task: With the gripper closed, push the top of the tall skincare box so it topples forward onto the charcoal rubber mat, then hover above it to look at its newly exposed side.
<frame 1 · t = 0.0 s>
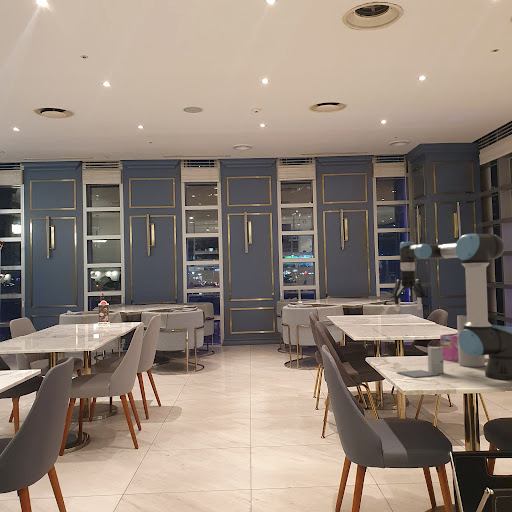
hand: (409, 310, 277), 28 cm above the table, fingers open, 13 cm apart
gum box: (459, 359, 288), on the table
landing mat: (417, 374, 243), on the table
skincare box: (436, 373, 247), on the table
cylinder vase: (471, 365, 266), on the table
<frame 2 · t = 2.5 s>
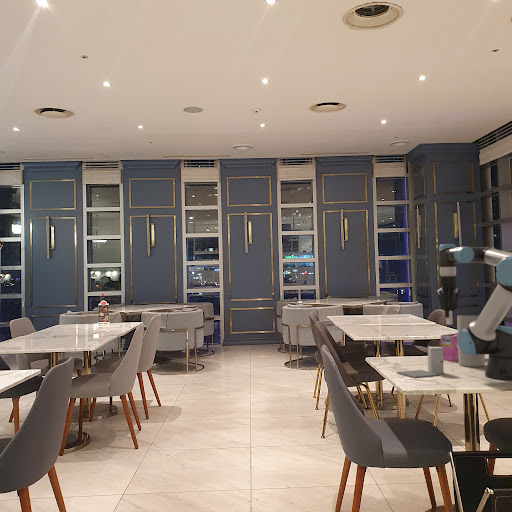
hand: (449, 324, 251), 23 cm above the table, fingers closed
nothing on the table moved.
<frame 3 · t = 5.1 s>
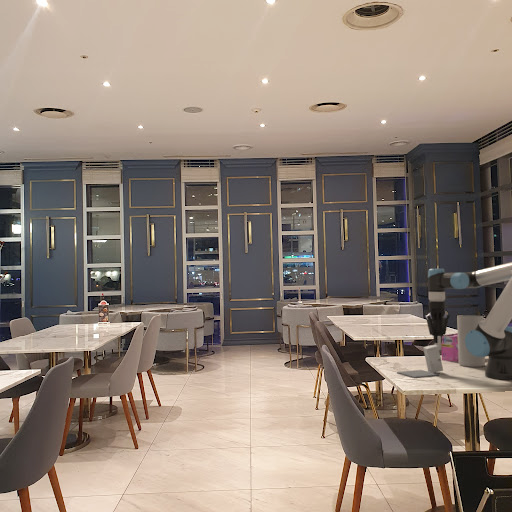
hand: (438, 349, 249), 11 cm above the table, fingers closed
skincare box: (435, 371, 247), point 1 cm above the table, touching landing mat
everything else where it was.
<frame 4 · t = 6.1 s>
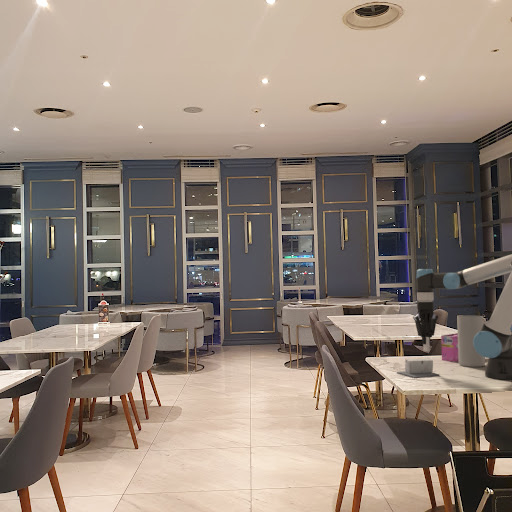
hand: (426, 350, 246), 11 cm above the table, fingers closed
skincare box: (431, 364, 247), point 4 cm above the table, touching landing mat
everything else where it was.
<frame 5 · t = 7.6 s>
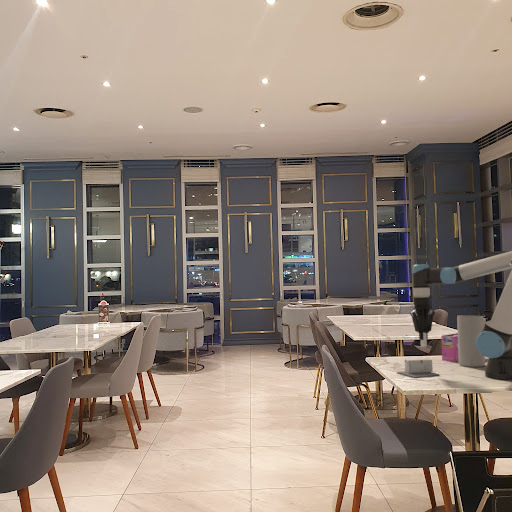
hand: (423, 346, 245), 13 cm above the table, fingers closed
nothing on the table moved.
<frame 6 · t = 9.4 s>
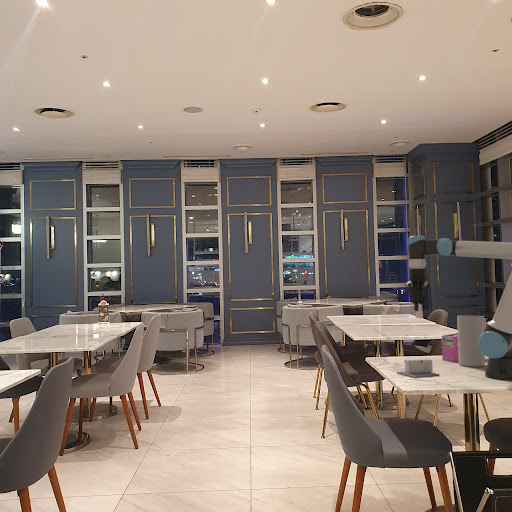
hand: (418, 317, 245), 26 cm above the table, fingers closed
nothing on the table moved.
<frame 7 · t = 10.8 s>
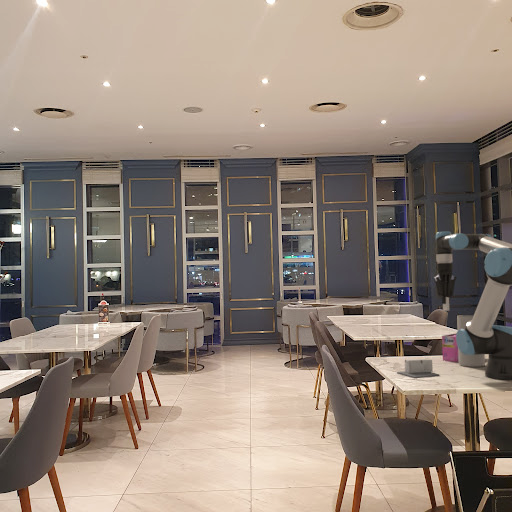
hand: (446, 310, 256), 29 cm above the table, fingers closed
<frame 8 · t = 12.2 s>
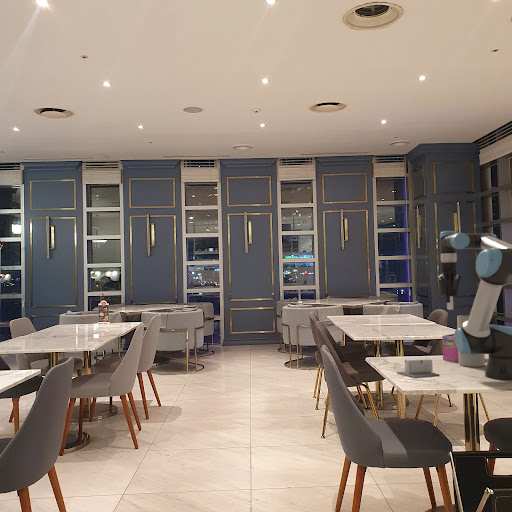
hand: (450, 309, 258), 29 cm above the table, fingers closed
at the end: skincare box tilted 91°; skincare box inside the target area (3.8 cm from its centre), point 3.7 cm above the table; skincare box touching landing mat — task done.
